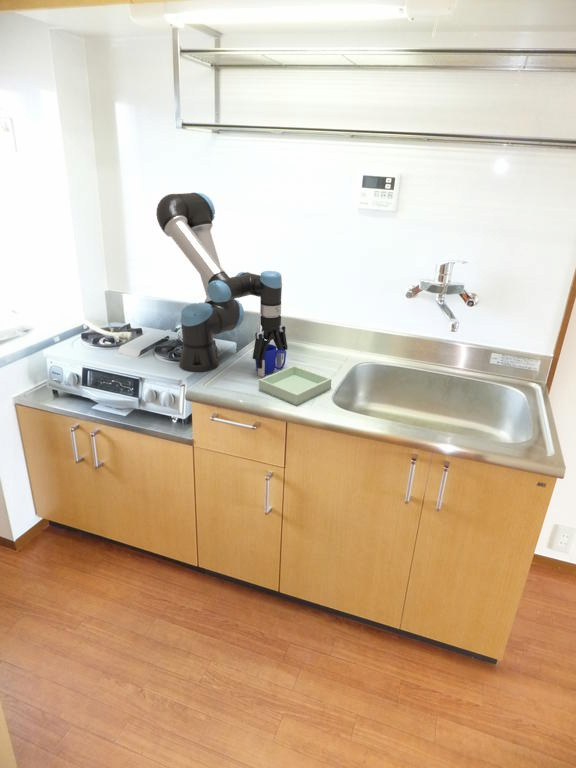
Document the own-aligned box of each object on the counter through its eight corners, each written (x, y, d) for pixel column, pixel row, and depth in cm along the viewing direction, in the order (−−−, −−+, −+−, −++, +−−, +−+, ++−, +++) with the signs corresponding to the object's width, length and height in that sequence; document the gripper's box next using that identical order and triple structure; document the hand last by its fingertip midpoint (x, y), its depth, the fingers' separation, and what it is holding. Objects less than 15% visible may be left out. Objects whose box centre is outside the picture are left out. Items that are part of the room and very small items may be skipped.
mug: (283, 378, 188) (283, 353, 184) (252, 374, 190) (251, 350, 186) (287, 369, 195) (288, 345, 191) (257, 366, 197) (257, 342, 193)
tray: (258, 390, 178) (259, 379, 176) (293, 375, 190) (294, 365, 189) (296, 406, 167) (297, 395, 166) (330, 389, 180) (331, 378, 178)
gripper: (256, 323, 173) (257, 383, 183) (298, 311, 188) (296, 366, 198) (241, 319, 178) (242, 377, 187) (283, 307, 193) (282, 361, 202)
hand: (270, 371), depth 192 cm, fingers open, 9 cm apart
